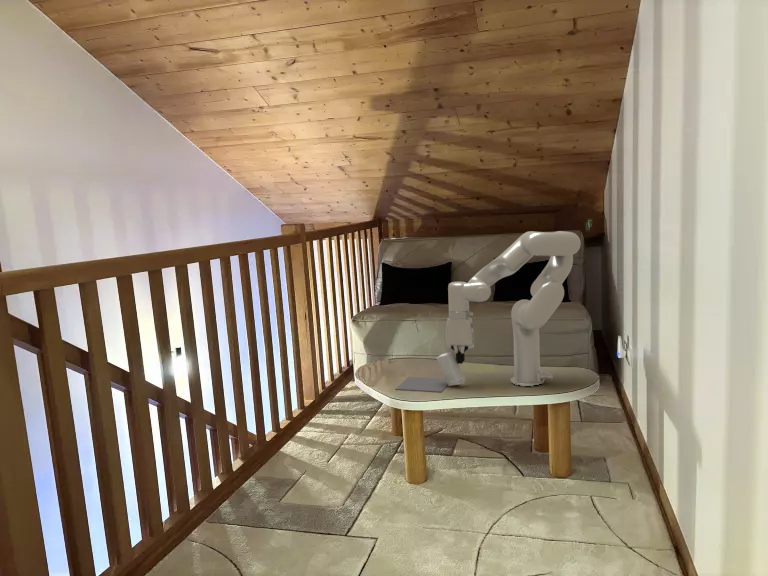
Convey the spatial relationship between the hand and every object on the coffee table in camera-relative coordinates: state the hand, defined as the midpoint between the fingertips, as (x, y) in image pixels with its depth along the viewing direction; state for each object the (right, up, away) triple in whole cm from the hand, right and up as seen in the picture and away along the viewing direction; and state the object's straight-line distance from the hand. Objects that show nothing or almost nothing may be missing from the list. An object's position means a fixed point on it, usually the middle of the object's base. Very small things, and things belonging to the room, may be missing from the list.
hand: (460, 362), depth 218 cm
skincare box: (-1, -8, +2) cm, 9 cm away
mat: (-13, -9, +7) cm, 17 cm away
